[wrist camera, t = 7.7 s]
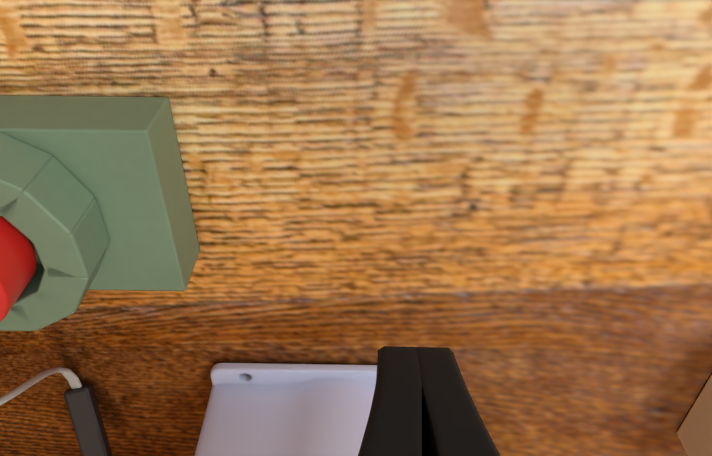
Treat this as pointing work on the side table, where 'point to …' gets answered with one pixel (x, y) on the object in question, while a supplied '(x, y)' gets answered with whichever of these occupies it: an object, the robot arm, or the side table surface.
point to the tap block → (698, 425)
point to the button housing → (93, 199)
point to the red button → (14, 265)
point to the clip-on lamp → (76, 411)
